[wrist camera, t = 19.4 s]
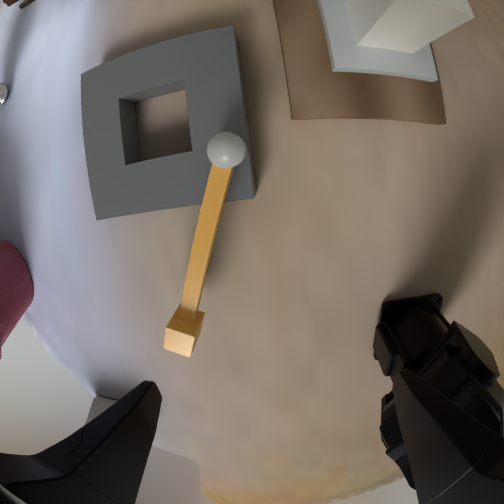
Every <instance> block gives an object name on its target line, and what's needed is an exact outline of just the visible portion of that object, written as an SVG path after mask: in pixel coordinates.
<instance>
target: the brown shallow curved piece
mask: <svg viewBox="0 0 504 504" xmlns="http://www.w3.org/2000/svg"><path fill="white" fill-rule="evenodd" d="M17 1H19V0H3V2H4V3H5V4H7V6H11V5H12V4H14V3H16V2H17ZM34 1H35V0H25V1H24V2H23V3H21V4H20V6H19V8H21V9H22V8H24V7H26V6H27V5H29V4H30V3H32V2H34Z"/></svg>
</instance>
